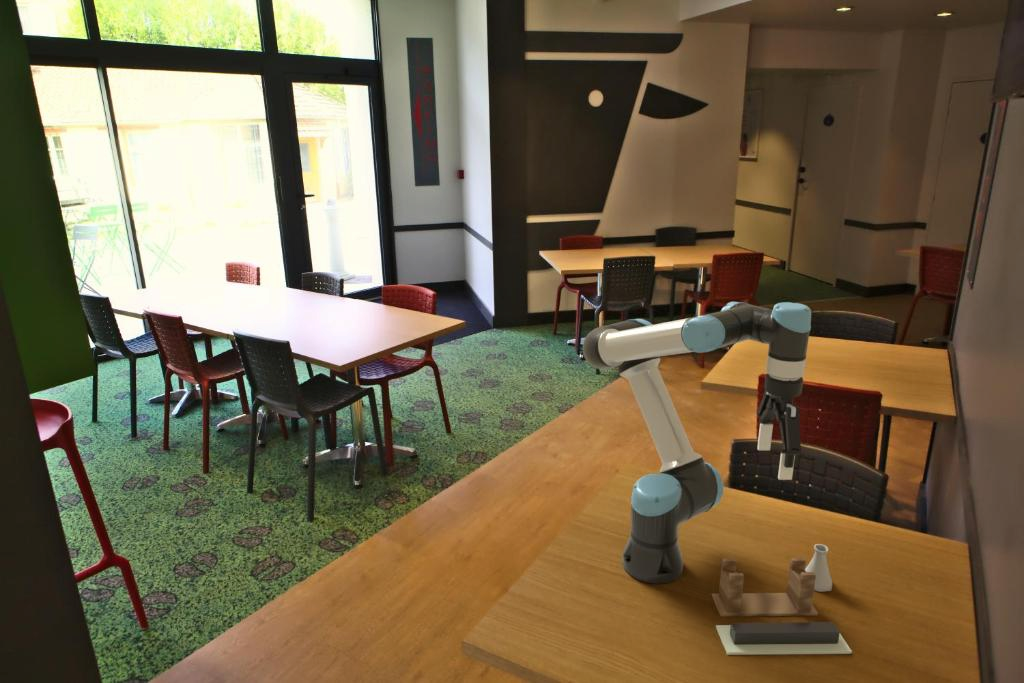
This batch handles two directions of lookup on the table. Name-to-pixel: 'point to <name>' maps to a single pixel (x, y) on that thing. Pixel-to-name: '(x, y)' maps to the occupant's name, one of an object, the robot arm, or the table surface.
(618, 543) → the table surface
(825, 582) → the flask
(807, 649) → the mat
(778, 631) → the rail
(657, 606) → the table surface
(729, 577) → the rack
